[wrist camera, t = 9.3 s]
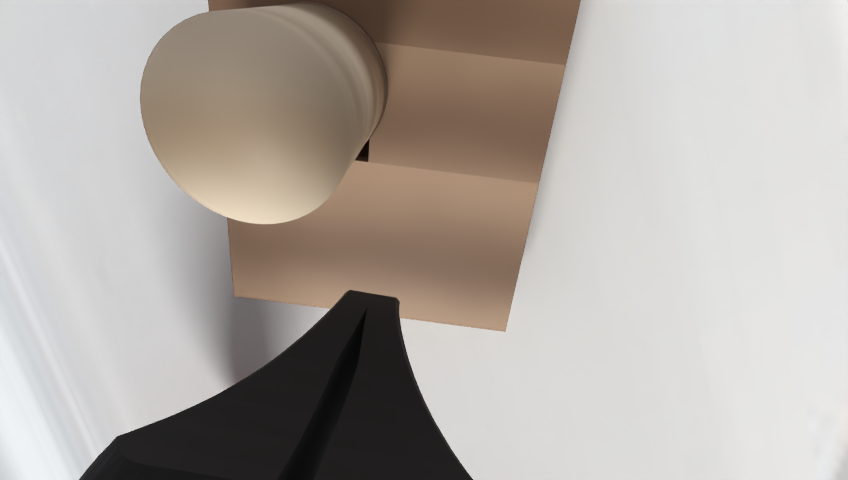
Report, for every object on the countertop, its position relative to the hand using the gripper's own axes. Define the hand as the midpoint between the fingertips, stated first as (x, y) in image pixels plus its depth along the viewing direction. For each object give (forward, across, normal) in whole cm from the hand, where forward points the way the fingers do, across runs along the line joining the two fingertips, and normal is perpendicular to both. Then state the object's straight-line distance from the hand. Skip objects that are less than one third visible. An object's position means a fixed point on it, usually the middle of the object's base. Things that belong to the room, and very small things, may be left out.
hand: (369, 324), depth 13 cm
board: (+10, +1, -2) cm, 10 cm away
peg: (+10, +4, -4) cm, 11 cm away
